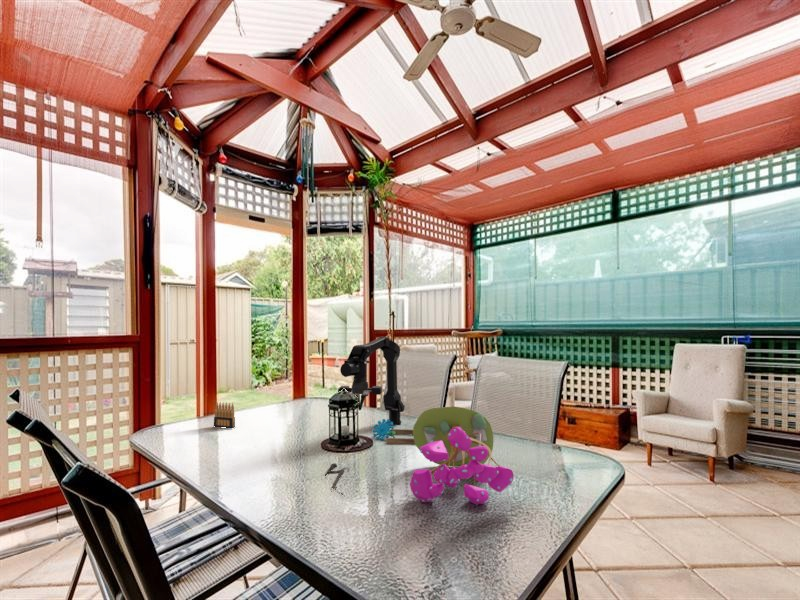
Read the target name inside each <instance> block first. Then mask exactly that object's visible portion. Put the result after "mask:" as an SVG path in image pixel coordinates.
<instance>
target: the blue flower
mask: <svg viewBox="0 0 800 600" xmlns="http://www.w3.org/2000/svg"><path fill="white" fill-rule="evenodd" d="M389 422H390V420H389V418H388V419H385V418H383V419H382V421H381V420H379V421H377V424H378V425H377V424H374V425H373V427H374V428H373V429H372V433H373V434H372V436H373V438H375V439H376V440H377V441H379V440H381V441H384V440H385V438H386V439H387V438H396V436H395V435H396V434H395V432H394V431H390V429H392V430H393V429H395V426H394V424H393V422H390V423H389Z"/></svg>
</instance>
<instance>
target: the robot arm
mask: <svg viewBox="0 0 800 600" xmlns="http://www.w3.org/2000/svg"><path fill="white" fill-rule="evenodd" d="M379 349H380V350H381V352H382V354H383V355H382V356H383V358H384V360H385V361H386V389H387V390H386V392H385V394H383V406H384V407H383V408H384V410H385V411H388V419H389V420H390V422H393V425H398V426H399V425H402V420H401V413H402V412H404V411H405V408H406V407H405V404H404V403H403V402H402V398H401V394H400V392H399V391H398V375H397V373H398V372H397V371H398V370H397V369H398V366H397V364H398V363H397V362H398V359H399V357H400V355H401V354H400V353H401V347H400V345H399V344H398V343H396V342H395V341H393V340H391V339H390V337H387V336H379V337H377V338H376V339H374V340H372V341H370V342H367V343H364V344H357V345H354V346H353V347H352V349H351V351H350V353H349V355H348V357H347V359H346V360H344V362H343V364H341V367H340V368H339V369H340V374H341V375H342V376H343V377H344V378H347V377H353V381H352V385H351V387H350V385H340V387H338V389H337V393H338V392H339V391H341V390H342V389H343V388H345V389H346V390H347V391H348V392H347V393H351V395H352V394H354V395H356V396H357V397H358V402H359V405H357V408H358V411H361V410H362V408H363V405H364V403H365V399H366V398H367V397H369V395H370V393H371V394H372V395H377V396H378V395H381V394H382V392H383V388H382V385H380V386H379V385H373V386H372V387H369V382H368V364H370V362H371V361H370V360H369V359H368V358H369V357H371V355H372V353H374V352H375V351H377V350H379ZM390 422H389V423H390Z"/></svg>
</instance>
